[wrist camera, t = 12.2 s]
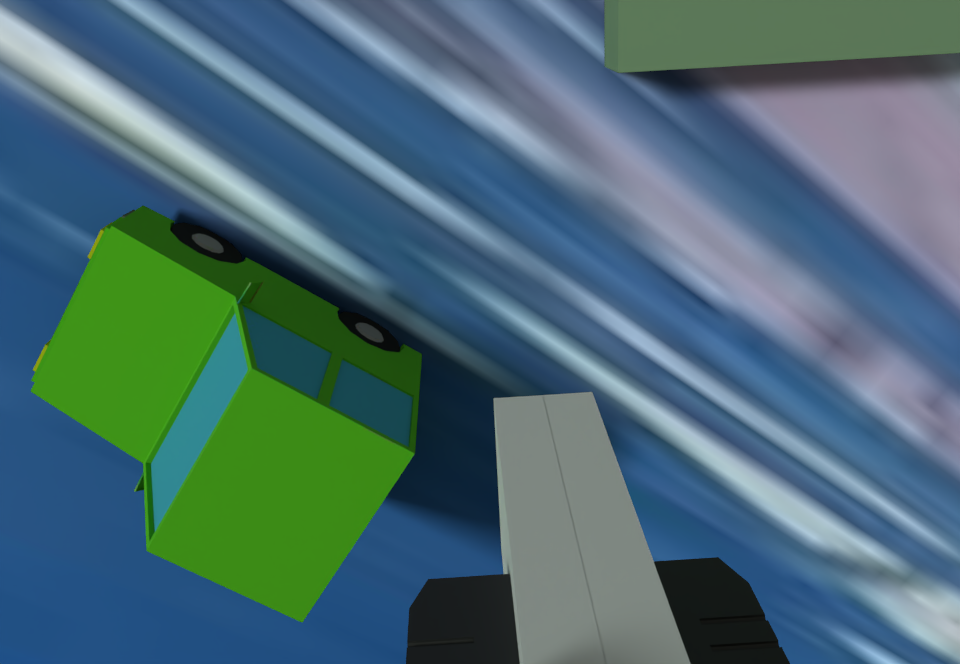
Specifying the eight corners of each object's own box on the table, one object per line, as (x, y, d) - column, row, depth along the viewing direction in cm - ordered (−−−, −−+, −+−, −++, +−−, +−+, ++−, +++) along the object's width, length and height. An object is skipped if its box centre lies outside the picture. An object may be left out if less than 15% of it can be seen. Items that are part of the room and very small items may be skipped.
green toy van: (155, 168, 36) (53, 229, 27) (434, 325, 39) (430, 430, 30) (57, 365, 39) (-65, 481, 30) (324, 497, 42) (288, 642, 33)
